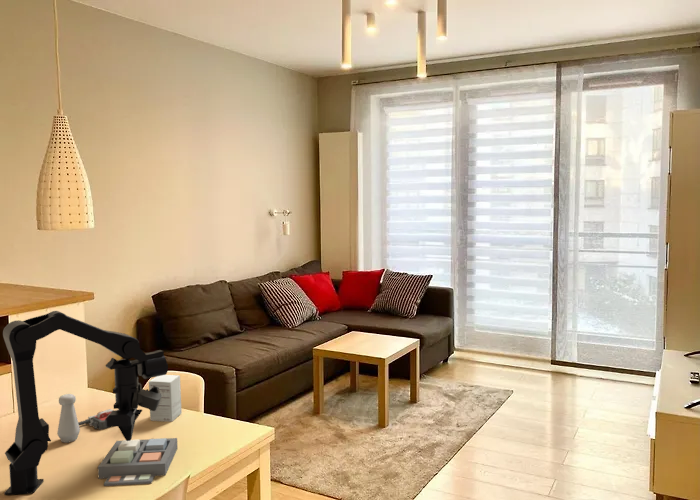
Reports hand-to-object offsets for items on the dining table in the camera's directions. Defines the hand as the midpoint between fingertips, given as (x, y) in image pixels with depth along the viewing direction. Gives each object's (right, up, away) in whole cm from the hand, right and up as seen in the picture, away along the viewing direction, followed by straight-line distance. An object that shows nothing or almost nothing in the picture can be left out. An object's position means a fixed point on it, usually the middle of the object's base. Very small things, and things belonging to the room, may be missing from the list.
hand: (128, 440), depth 158 cm
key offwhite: (0, -3, 0) cm, 3 cm away
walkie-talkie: (-17, -4, +25) cm, 30 cm away
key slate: (+7, -3, +1) cm, 8 cm away
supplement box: (+1, -3, +30) cm, 30 cm away
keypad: (+4, -5, -5) cm, 8 cm away
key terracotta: (+8, -4, -6) cm, 11 cm away
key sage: (+1, -3, -7) cm, 8 cm away
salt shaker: (-22, -4, +13) cm, 26 cm away
